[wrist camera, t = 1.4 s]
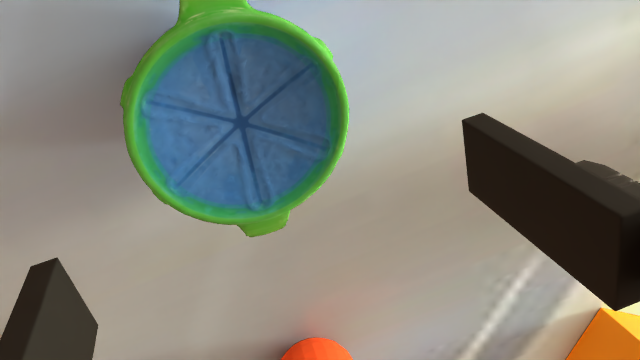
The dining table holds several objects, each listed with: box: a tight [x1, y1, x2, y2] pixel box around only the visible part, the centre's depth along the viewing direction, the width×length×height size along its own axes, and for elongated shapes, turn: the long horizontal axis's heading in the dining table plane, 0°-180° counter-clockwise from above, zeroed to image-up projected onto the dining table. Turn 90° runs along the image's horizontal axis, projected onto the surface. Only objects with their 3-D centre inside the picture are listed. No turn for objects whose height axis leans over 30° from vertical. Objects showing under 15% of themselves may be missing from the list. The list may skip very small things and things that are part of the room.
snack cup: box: [120, 0, 349, 237], centre depth 28 cm, size 16×11×10 cm
